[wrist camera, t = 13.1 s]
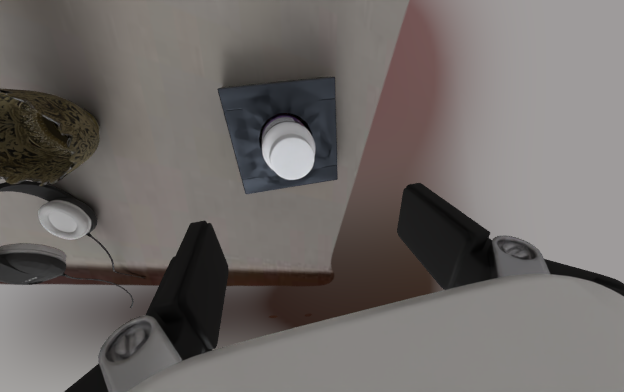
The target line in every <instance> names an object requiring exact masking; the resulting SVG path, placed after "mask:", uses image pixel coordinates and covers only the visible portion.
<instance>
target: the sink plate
mask: <svg viewBox="0 0 624 392" xmlns="http://www.w3.org/2000/svg"><path fill="white" fill-rule="evenodd" d="M218 93H219V96H220V100H221V104H222V108H223V111H224V115H225V119H226V122H227V126H228V130H229V134H230V137H231V141H232V145H233V149H234V152H235V156H236V160H237V164H238V167H239V171H240V175H241V179H242V182H243V186H244V190H245V193H246V194H250V193H256V192H263V191H269V190H275V189H281V188H288V187H294V186H300V185H306V184H312V183H319V182H325V181H331V180H337V139H336V100H335V77H320V78H310V79H300V80H290V81H280V82H270V83H260V84H249V85H239V86H229V87H222V88H219V89H218ZM283 113H290V114H293V115H297V116H299V117H300V118H301V119H302V120H304V122H305V124H306V126H307V129H308V131H309V132H310V133H311V135H312V137H313V139H314V142H315V156H314V164H313V167H312V169H311V170H310V172H309V173H308V174H307V175H305V176H304V177H302V178H300V179H296V180H288V179H284V178H282V177H280V176H279V175H277V174H276V173H275V171H274V170H272V169H271V168H270V167H269V166H268V165H267V163H266V162H265V160H264V157H263V154H262V143H261V138H260V133H261V128H262V127H263V126H264V124H265V123H266V121H267V120H268V119H270V118H271V117H273V116H275V115H277V114H283Z"/></svg>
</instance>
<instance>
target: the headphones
mask: <svg viewBox="0 0 624 392" xmlns="http://www.w3.org/2000/svg"><path fill="white" fill-rule="evenodd" d="M40 184H41V183H39V182H32V181H23V182H21V183H19V184H9V183H7V182H5V183H1V184H0V191H15V192H22V193H27V194H31V195H35V196H38V197H40V198H43V199H45V200H47V201H49V202H48V203H46V204H45V205H43V206H42V207H41V208H40V209H39V212H38V217H39V221H40V223H41V224H42V226H43V227H44V228H45V229H46V230H47V231H49V232H50V233H51V234H53V235H55V236H57V237H60V238H64V239H77V238H80V237H82V236H84V235H88V236H89V237H91V238H93V239H94V240H95V241H96V242H98V243H99V244H100V245H101V247H102V248H103V249H104V250H105V251H106V252H107V254H108V255H109V257H110V259H111V261H112V267H113V271H114V272H116V271H115V270H114V263H113V260H112V258H111V256H110V254H109V253H108V251H107V250H106V249H105V248H104V246H103V245H102V244H101V243H100V242H99V241H97V240H96V239H95V238H94V237H92V235H91V234H90V232H91V231H92V230H94V229H95V227H96V225H97V218H96V215H95V213H94V212H93V210H92V209H91V208H90V207H89V206H87V205H86V204H84V203H83V202H81V201H79V200H77V199H75V198H74V197H72V196H71V195H69V194H68V193H66V192H64V191H62V190H60V189H58V188H55V187H53V186H50V185H43V186H39V185H40ZM65 261H66V255H65V253H64V252H63V251H61V250H59V249H56V248H54V247H49V246H45V245H39V244H28V243H19V244H9V245H4V246H1V247H0V282H5V283H9V284H22V285H31V284H38V283H41V282H43V281H46V280H49V279H52V278H55V277H58V276H66V277H68V278H72V279H81V278H73V277H70V276H67V275H66V274H64V272H65V269H66V264H65ZM116 273H118V272H116ZM120 274H122V273H120ZM125 275H127V274H125ZM130 276H132V275H130ZM135 277H137V276H135ZM141 278H143V277H141ZM88 280H97V279H88ZM99 281H104V280H99ZM104 282H108V281H104ZM108 283H111V282H108ZM112 284H114V283H112ZM114 285H116V284H114ZM117 286H119V285H117ZM119 287H121V286H119ZM122 289H124V288H122ZM124 290H125V289H124ZM125 291H126V292H127V293H128V291H127V290H125ZM129 295H130V293H129ZM130 296H131V295H130ZM131 298H132V296H131ZM132 306H133V298H132V305H131V307H132ZM131 307H130V308H131Z"/></svg>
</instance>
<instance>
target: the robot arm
mask: <svg viewBox="0 0 624 392" xmlns="http://www.w3.org/2000/svg"><path fill="white" fill-rule="evenodd" d="M397 232H398V235H399V237H400V238H401V239H402V240H403V242H404V243H405V244H406V245H407V246H408V248H409V249H410V250H411V251H412V253H413V254H414V255H415V256H416V257H417V259H418V260H419V261H420V262H421V263H422V265H423V266H424V267H425V268H426V269H427V271H428V272H429V273H430V274H431V275H432V277H433V278H434V279H435V280H436V281H437V283H438V284H439V285H440V286H441V287H442V288H443V289H444V291H439V292H435V293H431V294H427V295H423V296H419V297H415V298H411V299H407V300H403V301H399V302H395V303H391V304H387V305H383V306H379V307H375V308H371V309H367V310H363V311H359V312H355V313H351V314H347V315H343V316H339V317H335V318H331V319H328V320H323V321H320V322H316V323H312V324H308V325H305V326H300V327H296V328H292V329H289V330H285V331H281V332H277V333H273V334H269V335H265V336H262V337H258V338H255V339H251V340H247V341H244V342H240V343H236V344H233V345H229V346H226V347H222V348H218V349H215V350H212V349H214V348H216V346H217V342H218V336H219V329H220V323H221V316H222V310H223V304H224V297H225V290H226V285H227V278H228V264H227V262H226V259H225V257H224V254H223V252H222V249H221V247H220V244H219V242H218V239H217V237H216V234H215V232H214V229H213V226H212V224H211V223H208V224H207V222H206V221H200V222H195V223H191V224H190V225H189V228H188V230H187V232H186V234H185V236H184V239H183V241H182V243H181V245H180V248H179V250H178V252H177V254H176V256H175V257H173V258H172V260H171V262H170V264H169V266H168V268H167V270H166V272H165V274H164V277H163V279H162V281H161V283H160V285H159V287H158V290H157V292H156V294H155V296H154V298H153V300H152V302H151V304H150V307H149V309H148V311H147V313H146V315H145V316H139V317H137V318H134V319H131V320H130V321H128V322H126V323H125V324H123V325H122V326H120V327H119V328H118V329H116V330H115V331H114V332H113V333H112V334H111V335H110V336H109V337H108V339H107V340H106V341H105V343H104V344H103V346H102V347H101V350H100V353H99V356H98V358H99V364H98V365H96V366H95V367H94V368H93V369H92V370H90V371H89V372H88V373H87V374H85V375H84V376H83V377H82V378H81V379H79V380H78V381H77V382H76V383H74V384H73V385H72V386H71V387H69V388H68V389H67V390H66V391H65V392H624V284H623V283H622V282H620V281H618V280H616V279H613V278H610V277H607V276H604V275H601V274H597V273H594V272H590V271H586V270H582V269H579V268H575V267H571V266H568V265H564V264H561V263H557V262H553V261H550V260H546V259H544V258H543V256H542V254H541V253H540V251H539V250H538V249H537V248H536V247H535V246H533V245H532V244H530V243H528V242H526V241H524V240H521V239H519V238H516V237H512V236H497V237H495V238H494V239H493V240H491V239H489V238H488V237H489V235H490V232H489V231H487V230H486V229H484V228H483V227H482V226H480V225H479V224H478V223H476V222H475V221H473V220H472V219H471V218H469V217H467V216H466V215H465V214H463V213H462V212H461V211H459V210H458V209H456V208H455V207H454V206H452V205H451V204H449V203H448V202H447V201H445V200H444V199H442V198H441V197H439V196H438V195H437V194H435V193H434V192H432V191H431V190H429V189H428V188H427V187H425V186H424V185H423V184H421V183H416V184H410V185H408V186H407V187H406V188H405V189H404V191H403V196H402V203H401V209H400V215H399V222H398V228H397Z"/></svg>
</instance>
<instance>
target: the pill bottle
mask: <svg viewBox="0 0 624 392" xmlns="http://www.w3.org/2000/svg"><path fill="white" fill-rule="evenodd" d="M262 154H263V157H264V160H265V162H266V163H267V165H268V166H269V167H270V168H271V169H272V170H274V171H275V173H276V174H277V175H279V176H280V177H282V178H284V179H288V180H296V179H300V178H302V177H304V176H305V175H307V174H308V173H309V172H310V170H311V169H312V167H313V164H314V156H315V142H314V139H313V137H312V135H311V133H310V132H309V131H308V129H307V128H306V127H305V126H304V125H303V124H302V122H301V121H300V120H299V119H298V118H297V117H295V116H294V115H291V114H288V113H283V114H277V115H275V116H273V117H271V118H270V119H268V120H267V121H266V123H265V125H264V127H263V131H262Z"/></svg>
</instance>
